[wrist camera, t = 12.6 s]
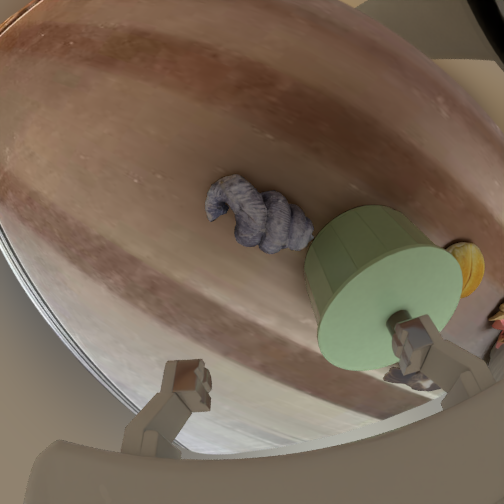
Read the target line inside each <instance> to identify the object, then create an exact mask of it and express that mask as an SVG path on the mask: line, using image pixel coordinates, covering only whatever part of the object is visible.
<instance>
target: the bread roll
mask: <svg viewBox="0 0 504 504" xmlns="http://www.w3.org/2000/svg"><path fill="white" fill-rule="evenodd" d="M446 250H447V251H448V252H450V253H451V254H452V256H453V257H454V258H455V259H456V260H457V262H458V263H459V265H460V268H461V271H462V276H463V287H462V293H461V296H460V298H464V297H467V296H469V295H470V294H471V293H472V292H473V291H475V289H476V288H477V287H478V285H479V284H480V282H481V280H482V278H483V275H484V269H485V265H484V259H483V256H482V253H481V251H480V249H479V248H478V247H477V246H476V245H475V244H473V243H466V242H459V243H456V244H453V245H451V246H450V247H448V248H447V249H446Z"/></svg>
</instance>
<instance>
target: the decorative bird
mask: <svg viewBox="0 0 504 504" xmlns="http://www.w3.org/2000/svg"><path fill="white" fill-rule="evenodd" d="M383 380H384V381H387V382H391V383H403V384H406V385H408V386H410V387H411V388H412V389H414V390H418V391H433V390H437V389H441V388H440V387H439V386H438V385H437V384H435V383H434V382H433V381H432V380H430V379H429V378H428V377H427V376H425V375H424V374H423V373H422V372H420V371H417V372H414V373H411V374H407V375H404V376H403V373H402V371H401V369H400V368H396V367H392V368H390V370H389V372H388V373H386V374H385V376H384V377H383Z"/></svg>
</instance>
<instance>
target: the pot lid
mask: <svg viewBox="0 0 504 504" xmlns="http://www.w3.org/2000/svg"><path fill="white" fill-rule="evenodd" d="M462 287H463V276H462V271H461V268H460V265H459V263H458V262H457V260H456V259H455V258H454V257H453V256H452V254H451V253H450V252H448V251H447V250H445V249H444V248H442V247H439V246H436V245H431V244H413V245H407V246H403V247H399V248H396V249H393V250H391V251H389V252H386V253H384V254H382V255H380V256H378V257H376V258H374V259H373V260H371V261H370V262H368V263H367V264H365V265H363V266H362V267H361V268H360V269H358V270H357V271H356V272H354V273H353V274H352V275H351V276H350V277H349V278H348V279H347V280H346V281H344V282H343V283H342V285H341V286H340V287H339V288H338V289H337V290H336V291H335V293H334V294H333V295H332V297H331V298H330V300H329V301H328V303H327V304H326V306H325V308H324V310H323V312H322V314H321V317H320V319H319V324H318V328H317V340H318V345H319V348H320V351H321V353H322V354H323V356H324V357H325V358H326V359H327V360H328V361H329V362H330V363H332V364H333V365H335V366H337V367H339V368H342V369H346V370H353V371H366V370H374V369H379V368H383V367H386V366H389V365H392V364H395V363H397V362H399V360H400V359H399V358H398V357H396V356H395V355H394V352H393V349H392V342H391V341H392V336H393V335H394V334H395V333H396V332H395V330H394V328H395V325H396V323H398V322H402V321H405V320H408V319H411V318H415V317H419V316H422V315H425V314H427V315H429V317H430V318H431V320H432V322H433V323H434V325H435V326H436V328H437V330H438V331H439V332H440V331H441V330H442V329H443V328H444V327H445V325H446V324H447V323H448V321H449V320H450V318H451V317H452V315H453V313H454V311H455V309H456V307H457V305H458V302H459V300H460V296H461V293H462Z"/></svg>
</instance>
